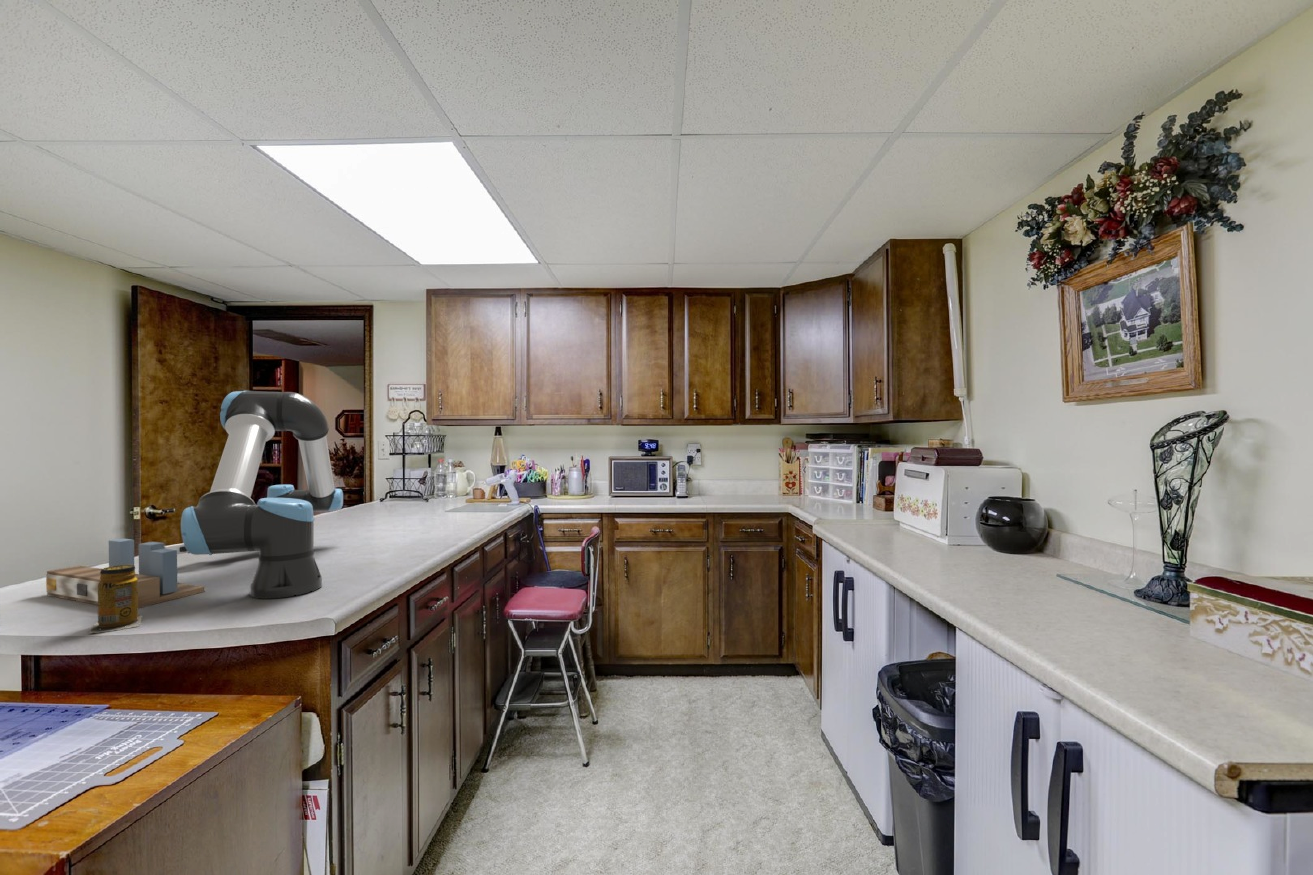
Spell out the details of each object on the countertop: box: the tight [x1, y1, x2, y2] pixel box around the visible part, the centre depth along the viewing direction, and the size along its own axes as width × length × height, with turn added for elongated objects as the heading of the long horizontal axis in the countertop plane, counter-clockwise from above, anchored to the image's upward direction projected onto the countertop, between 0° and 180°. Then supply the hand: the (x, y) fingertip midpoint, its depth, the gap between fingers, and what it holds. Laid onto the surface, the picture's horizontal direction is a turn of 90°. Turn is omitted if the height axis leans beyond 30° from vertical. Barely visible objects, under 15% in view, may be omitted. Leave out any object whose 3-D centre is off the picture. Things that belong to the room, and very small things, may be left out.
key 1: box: [108, 538, 135, 567], centre depth 147 cm, size 5×3×10 cm, turn 70°
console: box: [45, 565, 206, 609], centre depth 137 cm, size 33×16×6 cm, turn 70°
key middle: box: [138, 541, 166, 576], centre depth 142 cm, size 5×3×10 cm, turn 70°
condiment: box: [88, 565, 143, 634], centre depth 115 cm, size 7×8×12 cm
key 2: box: [149, 549, 178, 594], centre depth 134 cm, size 5×3×10 cm, turn 70°
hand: (164, 551), depth 155 cm, fingers closed
